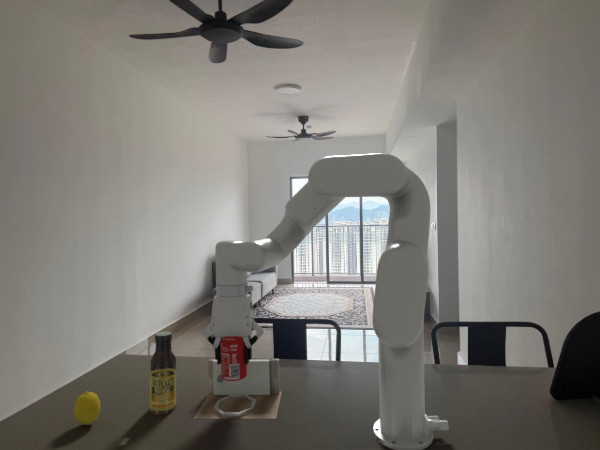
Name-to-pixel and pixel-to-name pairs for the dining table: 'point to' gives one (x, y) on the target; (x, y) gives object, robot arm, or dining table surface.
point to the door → (247, 380)
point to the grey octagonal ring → (234, 414)
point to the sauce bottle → (163, 375)
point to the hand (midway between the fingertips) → (233, 361)
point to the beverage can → (233, 359)
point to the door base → (242, 401)
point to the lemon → (87, 408)
